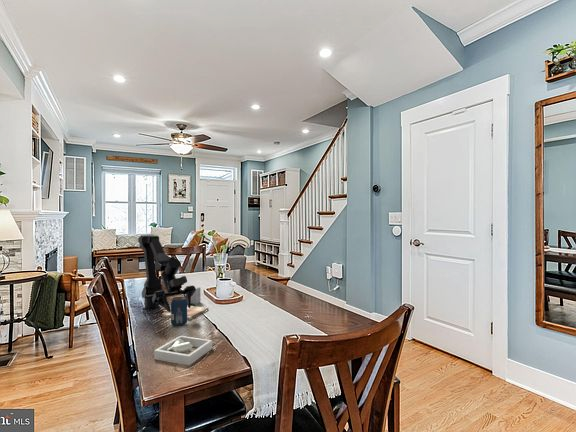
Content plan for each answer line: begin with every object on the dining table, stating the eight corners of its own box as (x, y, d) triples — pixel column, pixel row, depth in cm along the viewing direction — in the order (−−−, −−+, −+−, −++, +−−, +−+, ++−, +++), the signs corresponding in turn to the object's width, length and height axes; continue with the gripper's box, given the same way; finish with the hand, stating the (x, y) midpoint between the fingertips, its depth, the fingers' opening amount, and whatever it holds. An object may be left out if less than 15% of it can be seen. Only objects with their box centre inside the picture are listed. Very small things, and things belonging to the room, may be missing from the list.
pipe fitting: (193, 350, 117) (175, 348, 117) (193, 339, 117) (175, 338, 117) (185, 360, 109) (166, 358, 109) (186, 348, 109) (167, 347, 109)
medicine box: (200, 302, 179) (200, 287, 178) (196, 304, 174) (196, 288, 174) (188, 301, 181) (188, 286, 181) (183, 303, 176) (183, 287, 176)
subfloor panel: (161, 316, 154) (161, 313, 154) (182, 307, 169) (182, 304, 169) (189, 319, 149) (189, 317, 149) (208, 310, 164) (208, 307, 164)
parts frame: (154, 359, 109) (154, 350, 108) (180, 343, 122) (180, 335, 122) (189, 365, 104) (189, 356, 104) (212, 348, 117) (212, 340, 117)
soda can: (181, 321, 147) (181, 295, 147) (190, 324, 143) (190, 297, 143) (167, 325, 142) (167, 298, 142) (176, 328, 137) (176, 301, 137)
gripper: (154, 273, 139) (164, 303, 131) (194, 268, 152) (205, 295, 144) (147, 288, 145) (157, 318, 137) (186, 282, 157) (197, 309, 149)
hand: (180, 309), depth 141 cm, fingers open, 9 cm apart
